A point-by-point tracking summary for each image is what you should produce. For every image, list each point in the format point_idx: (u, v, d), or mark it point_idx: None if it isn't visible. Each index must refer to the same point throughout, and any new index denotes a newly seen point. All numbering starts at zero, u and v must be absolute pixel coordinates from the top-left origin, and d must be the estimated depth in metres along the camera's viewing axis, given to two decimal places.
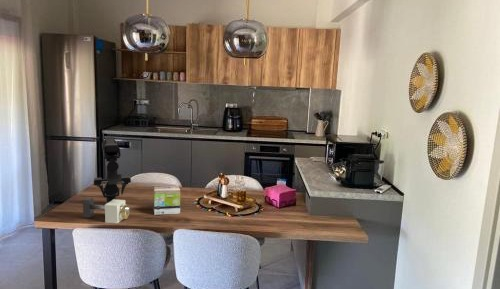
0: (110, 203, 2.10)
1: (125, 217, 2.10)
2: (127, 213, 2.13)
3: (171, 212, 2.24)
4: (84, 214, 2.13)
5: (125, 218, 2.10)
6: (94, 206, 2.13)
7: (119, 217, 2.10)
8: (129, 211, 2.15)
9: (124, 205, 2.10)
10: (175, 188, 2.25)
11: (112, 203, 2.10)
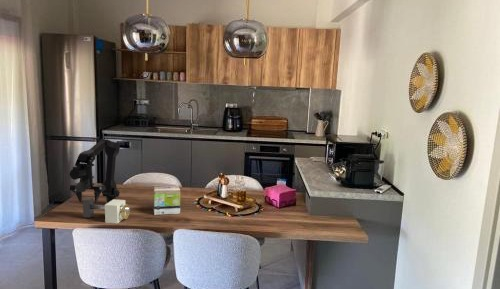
0: (110, 203, 2.10)
1: (125, 217, 2.10)
2: (127, 213, 2.13)
3: (171, 212, 2.24)
4: (84, 214, 2.13)
5: (125, 218, 2.10)
6: (94, 206, 2.13)
7: (119, 217, 2.10)
8: (129, 211, 2.15)
9: (124, 205, 2.10)
10: (175, 188, 2.25)
11: (112, 203, 2.10)
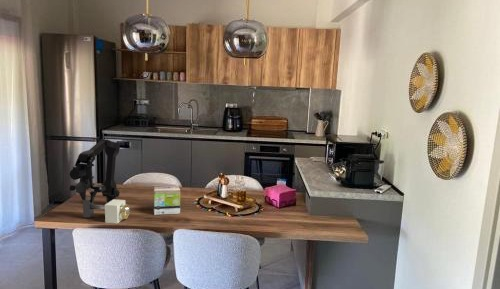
0: (110, 203, 2.10)
1: (125, 217, 2.10)
2: (127, 213, 2.14)
3: (171, 212, 2.24)
4: (84, 214, 2.13)
5: (125, 218, 2.10)
6: (94, 206, 2.13)
7: (119, 217, 2.10)
8: (129, 211, 2.15)
9: (124, 205, 2.10)
10: (175, 188, 2.25)
11: (112, 203, 2.10)
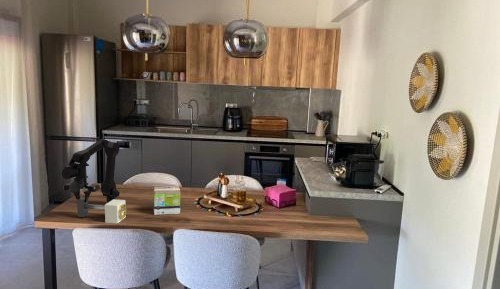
0: (110, 203, 2.10)
1: (122, 217, 2.10)
2: (124, 213, 2.14)
3: (171, 212, 2.24)
4: (78, 213, 2.13)
5: (122, 218, 2.10)
6: (88, 206, 2.13)
7: (119, 217, 2.10)
8: (126, 211, 2.15)
9: (121, 205, 2.10)
10: (175, 188, 2.25)
11: (112, 203, 2.10)
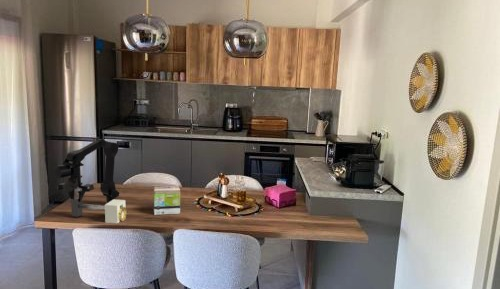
0: (110, 203, 2.10)
1: (122, 219, 2.10)
2: (124, 215, 2.14)
3: (171, 212, 2.24)
4: (72, 213, 2.14)
5: (122, 220, 2.11)
6: (82, 205, 2.13)
7: None
8: (126, 213, 2.15)
9: (121, 207, 2.11)
10: (175, 188, 2.25)
11: (112, 203, 2.10)
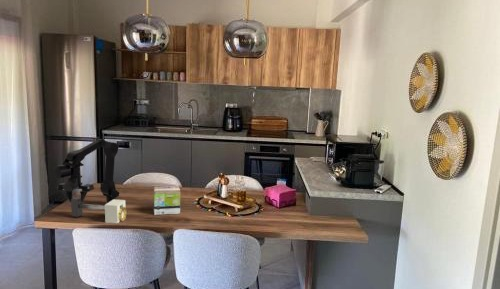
0: (110, 203, 2.10)
1: (122, 219, 2.10)
2: (124, 215, 2.14)
3: (171, 212, 2.24)
4: (72, 213, 2.14)
5: (122, 220, 2.11)
6: (82, 205, 2.13)
7: None
8: (126, 213, 2.15)
9: (121, 207, 2.11)
10: (175, 188, 2.25)
11: (112, 203, 2.10)
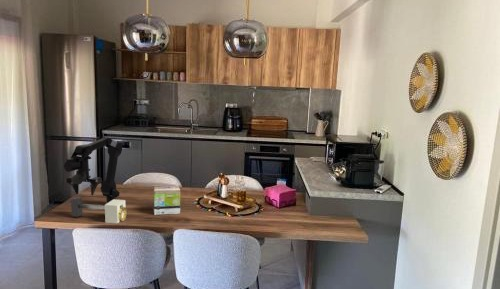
0: (110, 203, 2.10)
1: (122, 219, 2.10)
2: (124, 215, 2.14)
3: (171, 212, 2.24)
4: (72, 213, 2.14)
5: (122, 220, 2.11)
6: (82, 205, 2.13)
7: None
8: (126, 213, 2.15)
9: (121, 207, 2.11)
10: (175, 188, 2.25)
11: (112, 203, 2.10)
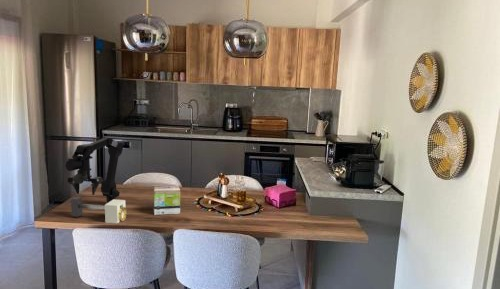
0: (110, 203, 2.10)
1: (122, 219, 2.10)
2: (124, 215, 2.14)
3: (171, 212, 2.24)
4: (72, 213, 2.14)
5: (122, 220, 2.11)
6: (82, 205, 2.13)
7: None
8: (126, 213, 2.15)
9: (121, 207, 2.11)
10: (175, 188, 2.25)
11: (112, 203, 2.10)
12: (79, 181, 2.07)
